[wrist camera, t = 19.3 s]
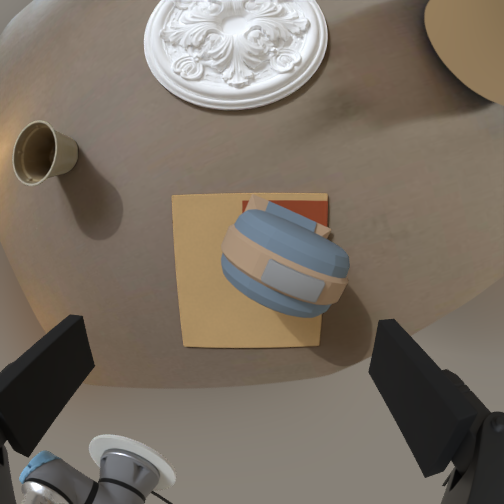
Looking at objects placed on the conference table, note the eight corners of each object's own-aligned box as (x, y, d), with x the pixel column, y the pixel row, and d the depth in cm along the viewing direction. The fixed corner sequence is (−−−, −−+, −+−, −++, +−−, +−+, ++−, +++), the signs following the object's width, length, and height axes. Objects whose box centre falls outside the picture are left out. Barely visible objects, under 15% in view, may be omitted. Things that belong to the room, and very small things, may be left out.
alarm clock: (218, 254, 43) (196, 301, 26) (245, 190, 41) (239, 197, 24) (308, 291, 45) (337, 354, 27) (337, 232, 42) (387, 264, 25)
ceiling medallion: (150, -18, 33) (144, -27, 30) (313, -31, 33) (316, -41, 30) (145, 122, 40) (137, 118, 36) (336, 107, 39) (343, 102, 36)
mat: (318, 343, 47) (319, 346, 47) (184, 344, 48) (183, 347, 47) (326, 193, 42) (327, 193, 41) (172, 195, 42) (171, 195, 41)
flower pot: (94, 133, 40) (65, 126, 31) (77, 190, 42) (46, 193, 33) (54, 122, 39) (22, 116, 31) (39, 175, 41) (6, 177, 33)
